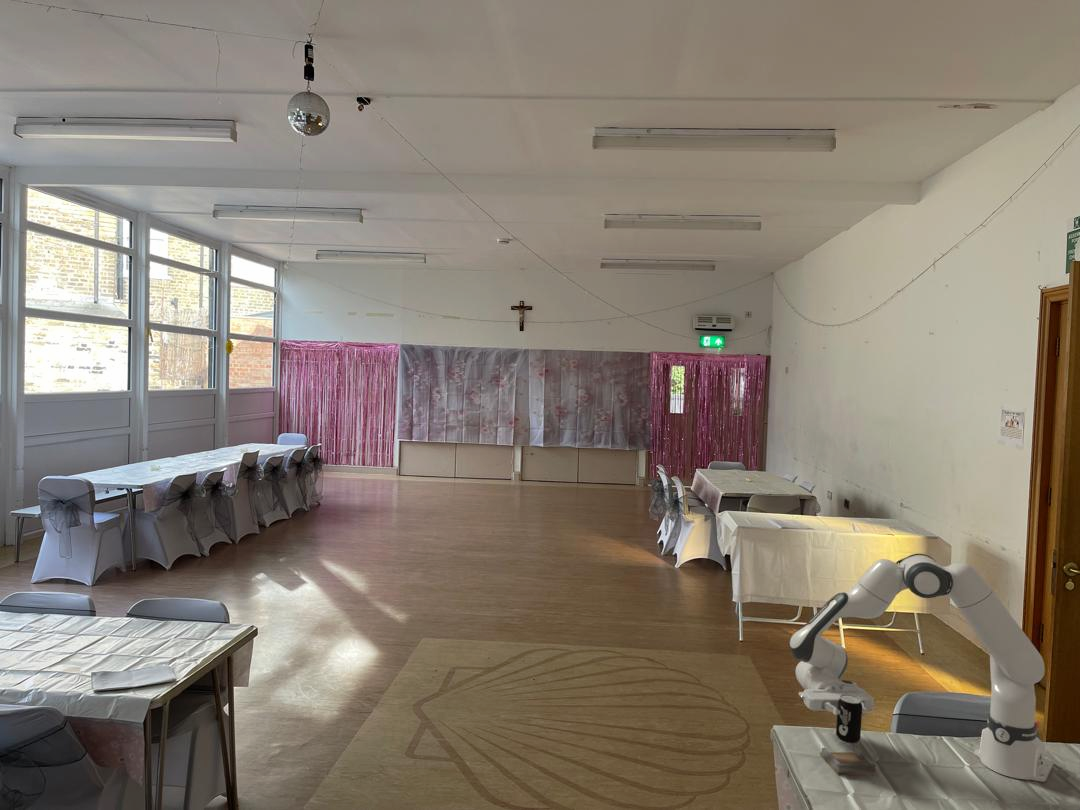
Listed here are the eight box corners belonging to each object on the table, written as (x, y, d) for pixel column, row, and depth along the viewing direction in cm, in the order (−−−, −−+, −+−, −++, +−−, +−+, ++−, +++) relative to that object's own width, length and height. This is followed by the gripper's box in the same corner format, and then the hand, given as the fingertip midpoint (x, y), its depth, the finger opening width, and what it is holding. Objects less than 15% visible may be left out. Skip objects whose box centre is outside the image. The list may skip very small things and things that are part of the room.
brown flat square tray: (819, 755, 218) (820, 746, 218) (854, 754, 219) (855, 745, 219) (838, 775, 207) (838, 765, 207) (875, 774, 208) (875, 765, 208)
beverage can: (862, 745, 209) (865, 704, 208) (838, 742, 210) (840, 701, 210) (857, 734, 215) (859, 695, 215) (833, 731, 217) (836, 692, 216)
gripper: (796, 681, 224) (817, 701, 210) (859, 681, 226) (884, 701, 212) (795, 701, 224) (816, 723, 211) (858, 701, 226) (883, 723, 213)
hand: (851, 712), depth 211 cm, fingers closed on beverage can, 7 cm apart
